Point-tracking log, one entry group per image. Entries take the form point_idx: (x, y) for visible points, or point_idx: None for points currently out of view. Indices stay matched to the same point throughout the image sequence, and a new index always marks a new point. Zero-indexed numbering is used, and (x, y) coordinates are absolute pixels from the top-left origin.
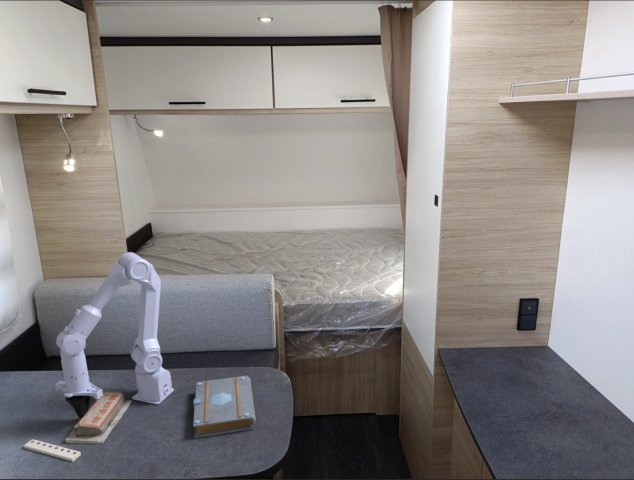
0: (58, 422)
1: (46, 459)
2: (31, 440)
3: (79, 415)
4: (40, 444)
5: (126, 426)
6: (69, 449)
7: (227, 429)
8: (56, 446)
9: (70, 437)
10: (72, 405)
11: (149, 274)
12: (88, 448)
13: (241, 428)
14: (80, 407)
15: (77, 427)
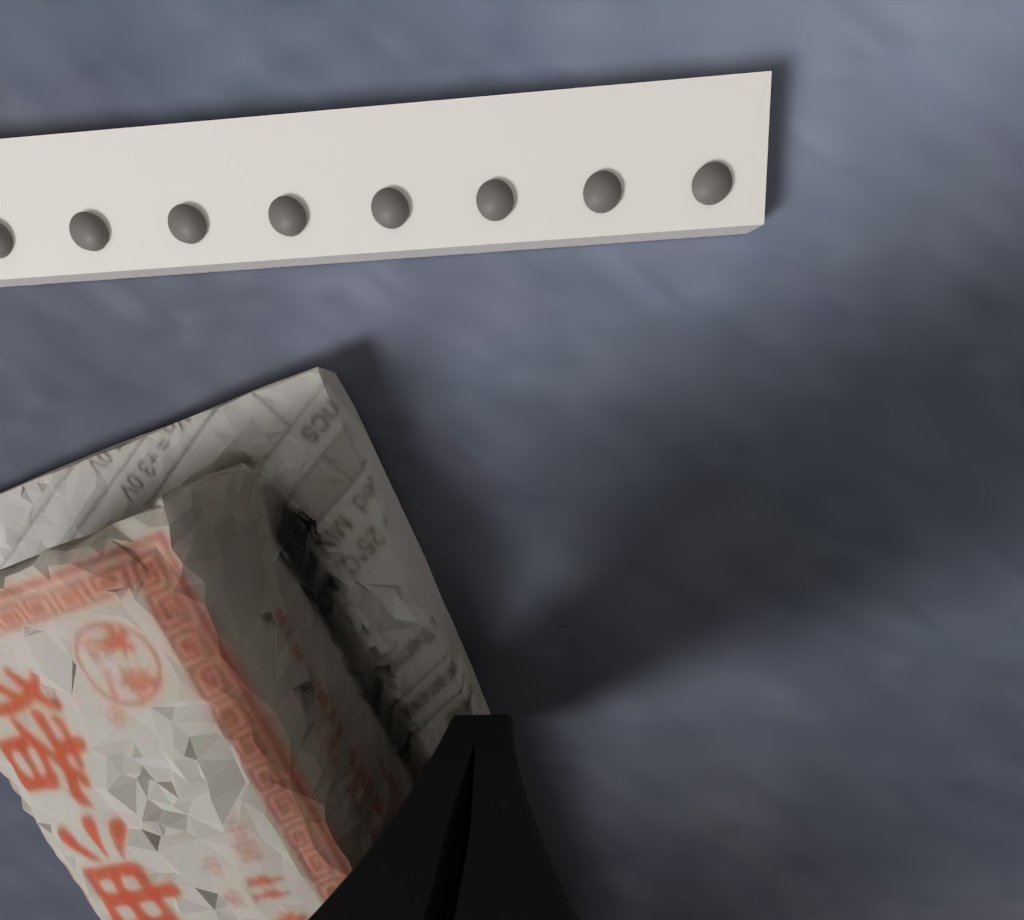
0: (743, 599)
1: (283, 55)
2: (755, 199)
3: (467, 741)
4: (557, 186)
5: None
6: (116, 262)
7: None
8: (318, 240)
9: (296, 425)
10: (527, 891)
11: None
12: (33, 396)
13: None
14: (341, 886)
15: (121, 522)
